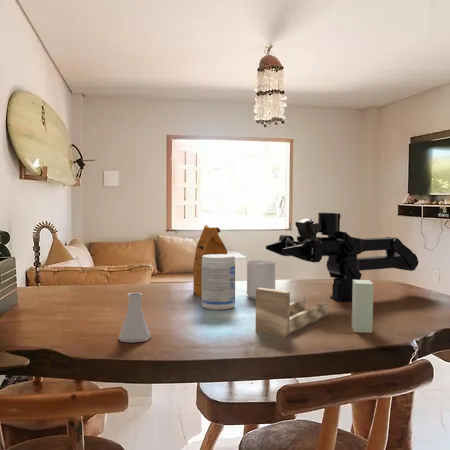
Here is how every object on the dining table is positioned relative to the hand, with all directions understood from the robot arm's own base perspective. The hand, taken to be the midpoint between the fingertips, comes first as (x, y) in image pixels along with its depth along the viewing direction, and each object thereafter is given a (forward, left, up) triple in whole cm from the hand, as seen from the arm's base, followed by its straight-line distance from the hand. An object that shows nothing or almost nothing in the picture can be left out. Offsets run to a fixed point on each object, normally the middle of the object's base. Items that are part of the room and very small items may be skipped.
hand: (274, 249), depth 134 cm
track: (+3, +16, -16) cm, 24 cm away
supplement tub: (+15, -6, -17) cm, 23 cm away
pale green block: (-8, +28, -17) cm, 34 cm away
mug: (-3, -14, -17) cm, 22 cm away
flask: (+44, +14, -17) cm, 49 cm away
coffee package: (+11, -22, -17) cm, 30 cm away
